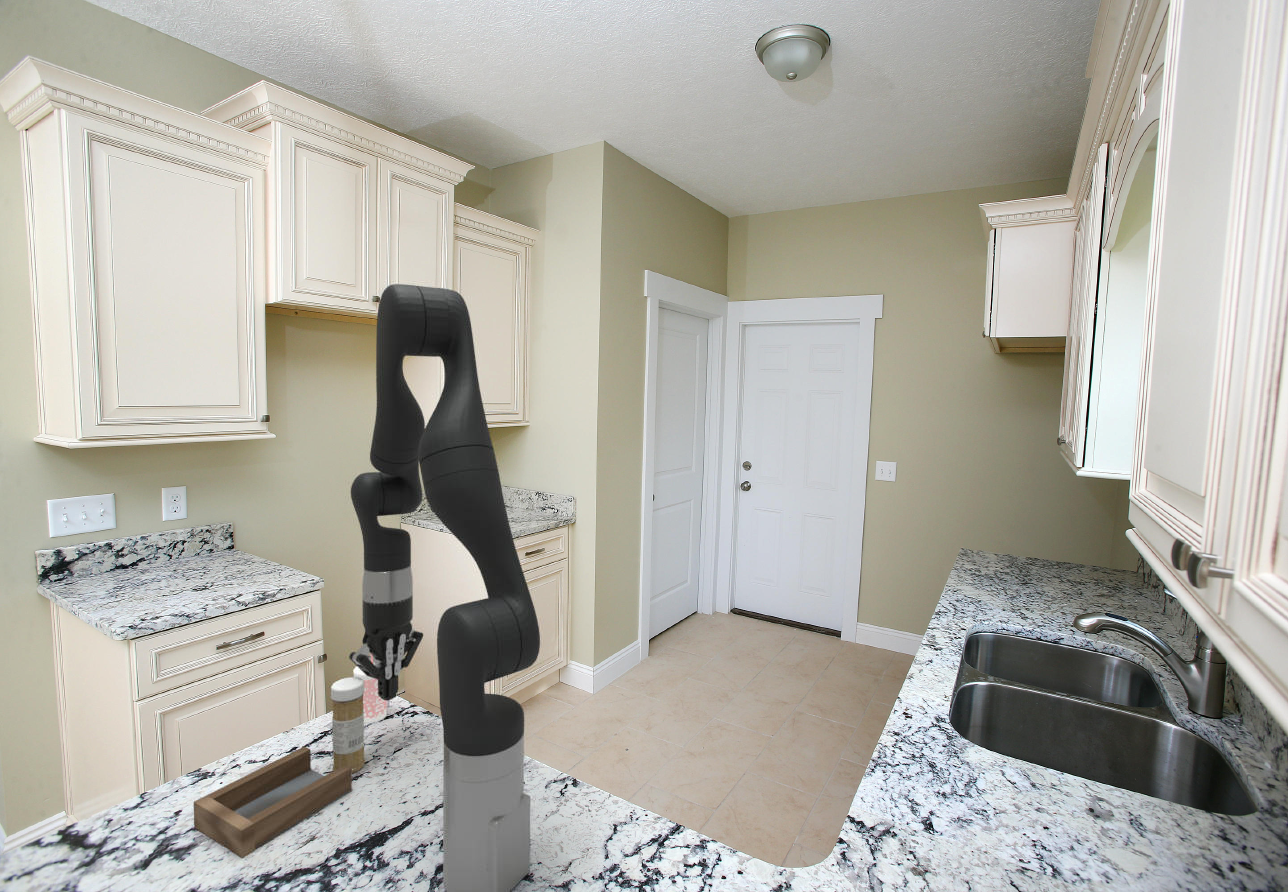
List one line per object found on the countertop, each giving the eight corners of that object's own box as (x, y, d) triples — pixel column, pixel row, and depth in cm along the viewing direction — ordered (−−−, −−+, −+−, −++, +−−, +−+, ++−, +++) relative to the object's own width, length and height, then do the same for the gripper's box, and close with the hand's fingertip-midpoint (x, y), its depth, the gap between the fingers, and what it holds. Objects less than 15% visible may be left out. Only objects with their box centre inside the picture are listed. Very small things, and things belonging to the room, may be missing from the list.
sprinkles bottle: (360, 755, 96) (359, 673, 95) (368, 768, 92) (367, 683, 92) (328, 765, 93) (327, 681, 92) (335, 780, 89) (334, 692, 89)
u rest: (351, 790, 87) (351, 767, 87) (242, 857, 74) (241, 830, 74) (304, 768, 92) (304, 746, 92) (194, 827, 79) (193, 801, 79)
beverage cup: (359, 729, 104) (358, 649, 103) (349, 715, 108) (348, 639, 107) (395, 717, 108) (395, 641, 107) (384, 704, 112) (384, 631, 111)
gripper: (367, 609, 90) (368, 721, 91) (436, 587, 102) (436, 687, 103) (335, 601, 93) (336, 709, 94) (405, 580, 105) (405, 677, 106)
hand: (388, 697), depth 98 cm, fingers closed
